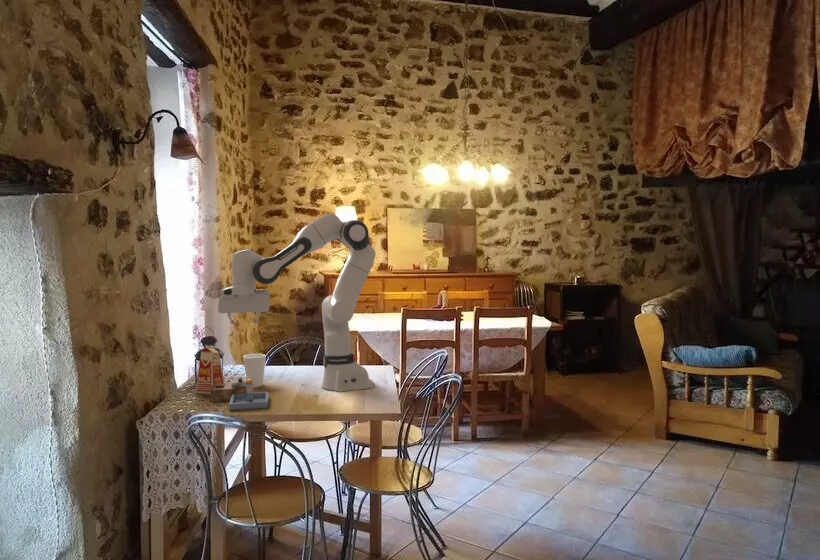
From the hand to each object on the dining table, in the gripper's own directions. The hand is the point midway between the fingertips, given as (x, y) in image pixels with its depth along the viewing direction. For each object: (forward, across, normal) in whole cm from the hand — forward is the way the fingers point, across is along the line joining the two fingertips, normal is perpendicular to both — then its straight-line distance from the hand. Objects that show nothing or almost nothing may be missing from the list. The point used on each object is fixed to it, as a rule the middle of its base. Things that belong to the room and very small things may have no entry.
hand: (244, 323), depth 245 cm
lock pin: (+28, -2, +16) cm, 33 cm away
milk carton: (+29, +15, -7) cm, 34 cm away
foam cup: (+29, -3, -12) cm, 32 cm away
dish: (+29, -2, +16) cm, 33 cm away
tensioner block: (+29, +6, +5) cm, 30 cm away
